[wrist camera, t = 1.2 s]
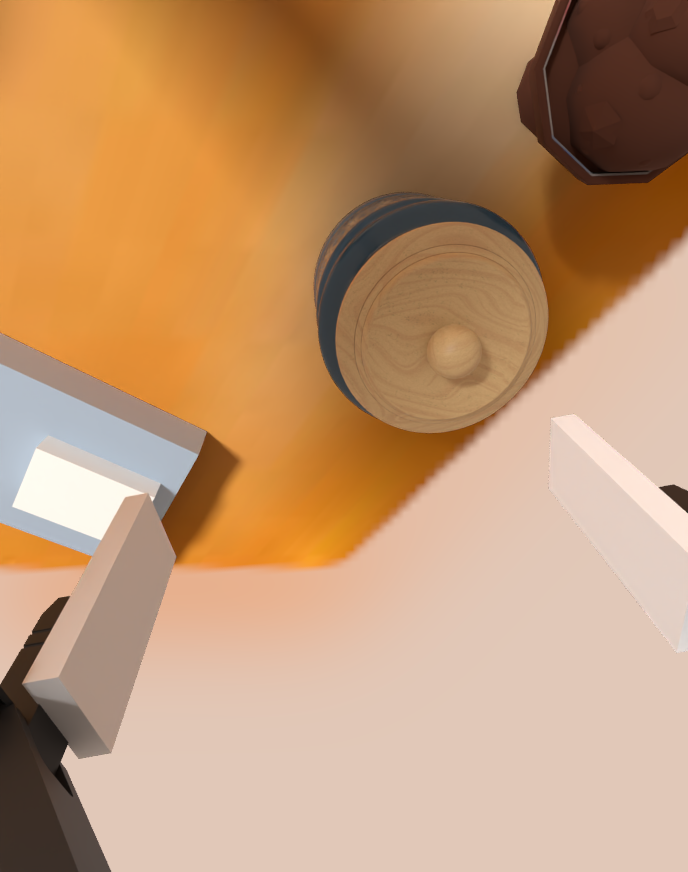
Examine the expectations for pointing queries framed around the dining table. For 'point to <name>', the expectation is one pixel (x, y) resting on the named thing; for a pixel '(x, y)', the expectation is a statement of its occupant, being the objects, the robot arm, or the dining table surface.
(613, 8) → the ice cream bowl
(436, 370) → the canister
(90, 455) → the white rectangular block
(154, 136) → the dining table surface
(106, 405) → the block
